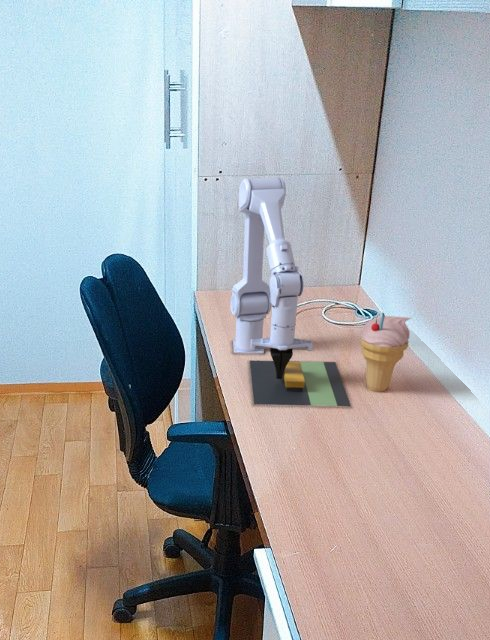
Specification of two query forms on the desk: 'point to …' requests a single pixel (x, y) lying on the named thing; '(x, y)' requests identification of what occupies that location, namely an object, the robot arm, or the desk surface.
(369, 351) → the ice cream cone
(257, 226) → the robot arm
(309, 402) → the desk mat
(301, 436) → the desk surface
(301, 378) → the gold bar
